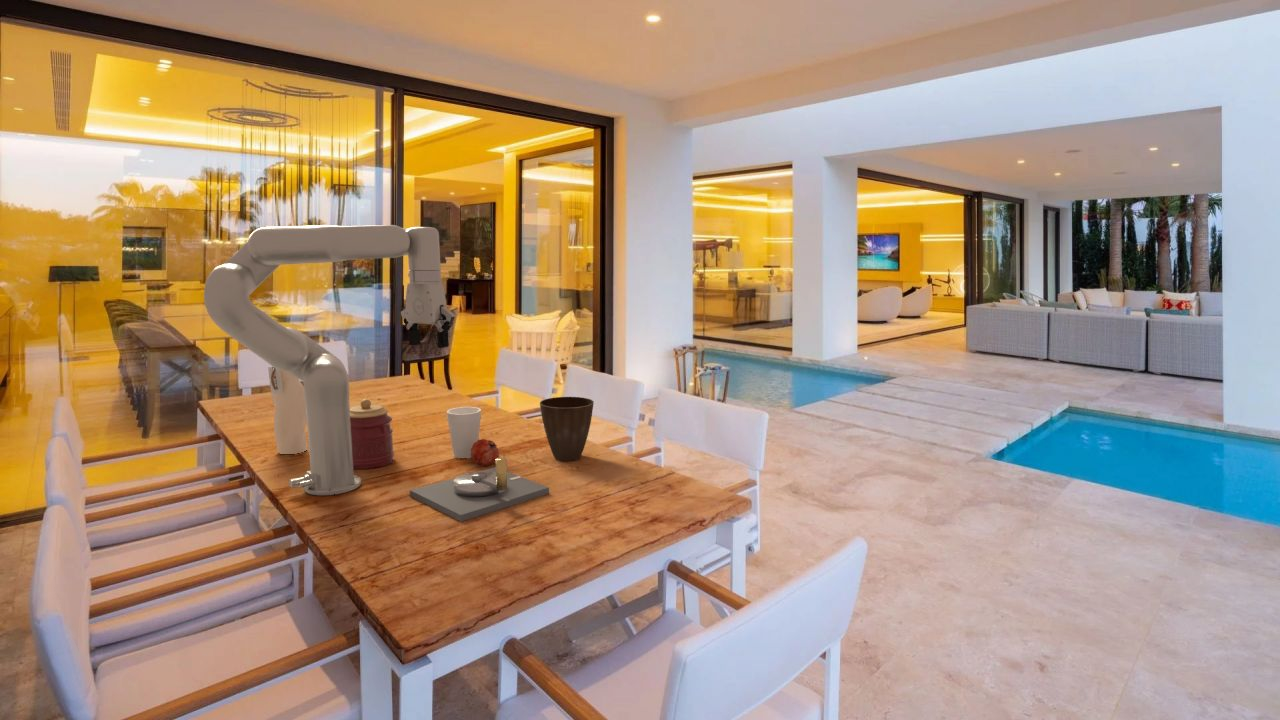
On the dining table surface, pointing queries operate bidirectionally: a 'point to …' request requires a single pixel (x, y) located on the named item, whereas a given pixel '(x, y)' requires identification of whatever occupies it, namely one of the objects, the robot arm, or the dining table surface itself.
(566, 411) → the plant pot
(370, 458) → the canister
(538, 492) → the base
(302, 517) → the dining table surface
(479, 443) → the pomegranate
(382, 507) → the dining table surface
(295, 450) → the water bottle
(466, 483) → the crank handle
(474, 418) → the foam cup
